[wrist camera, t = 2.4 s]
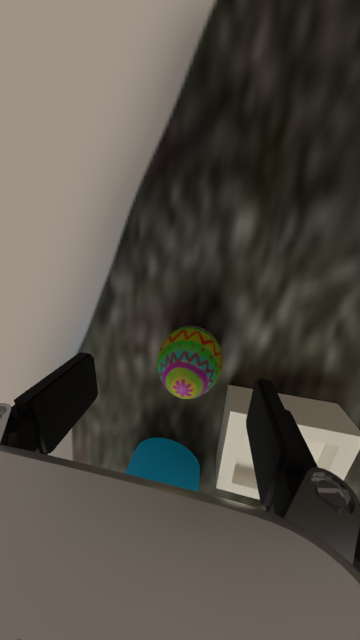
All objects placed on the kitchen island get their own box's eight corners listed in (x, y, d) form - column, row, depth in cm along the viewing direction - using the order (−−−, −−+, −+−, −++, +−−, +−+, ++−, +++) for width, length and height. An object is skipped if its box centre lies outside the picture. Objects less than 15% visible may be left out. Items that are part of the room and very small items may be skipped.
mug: (136, 428, 21) (91, 522, 14) (206, 450, 20) (199, 565, 13) (130, 492, 25) (93, 592, 18) (188, 513, 24) (175, 629, 17)
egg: (233, 338, 16) (241, 382, 10) (202, 378, 17) (195, 433, 12) (184, 308, 16) (165, 336, 10) (158, 350, 17) (130, 393, 12)
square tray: (337, 403, 16) (365, 437, 13) (307, 475, 18) (324, 516, 15) (228, 384, 17) (230, 411, 14) (216, 453, 20) (216, 487, 17)
